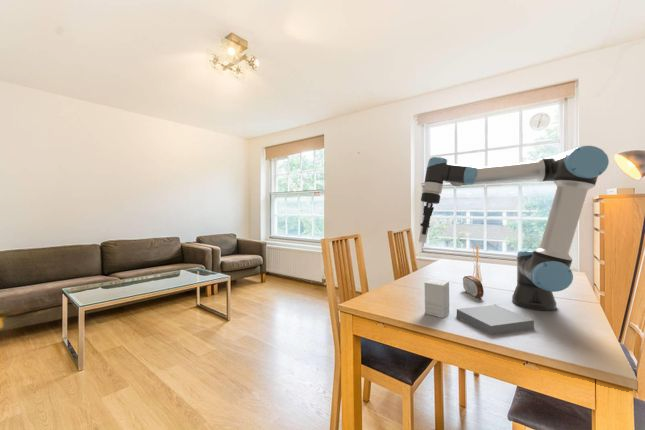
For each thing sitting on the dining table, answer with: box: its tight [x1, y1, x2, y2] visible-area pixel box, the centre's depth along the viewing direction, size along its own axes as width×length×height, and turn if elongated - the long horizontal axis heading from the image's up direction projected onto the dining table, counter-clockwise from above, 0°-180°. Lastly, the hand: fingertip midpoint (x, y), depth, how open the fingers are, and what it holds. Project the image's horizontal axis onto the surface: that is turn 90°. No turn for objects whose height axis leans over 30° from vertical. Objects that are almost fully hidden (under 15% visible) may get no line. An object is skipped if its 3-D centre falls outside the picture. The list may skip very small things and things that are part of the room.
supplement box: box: [424, 278, 450, 319], centre depth 111 cm, size 7×7×13 cm
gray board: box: [456, 304, 535, 336], centre depth 102 cm, size 18×16×3 cm
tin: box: [462, 275, 485, 299], centre depth 134 cm, size 15×3×8 cm, turn 178°
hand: (422, 241), depth 120 cm, fingers open, 13 cm apart
